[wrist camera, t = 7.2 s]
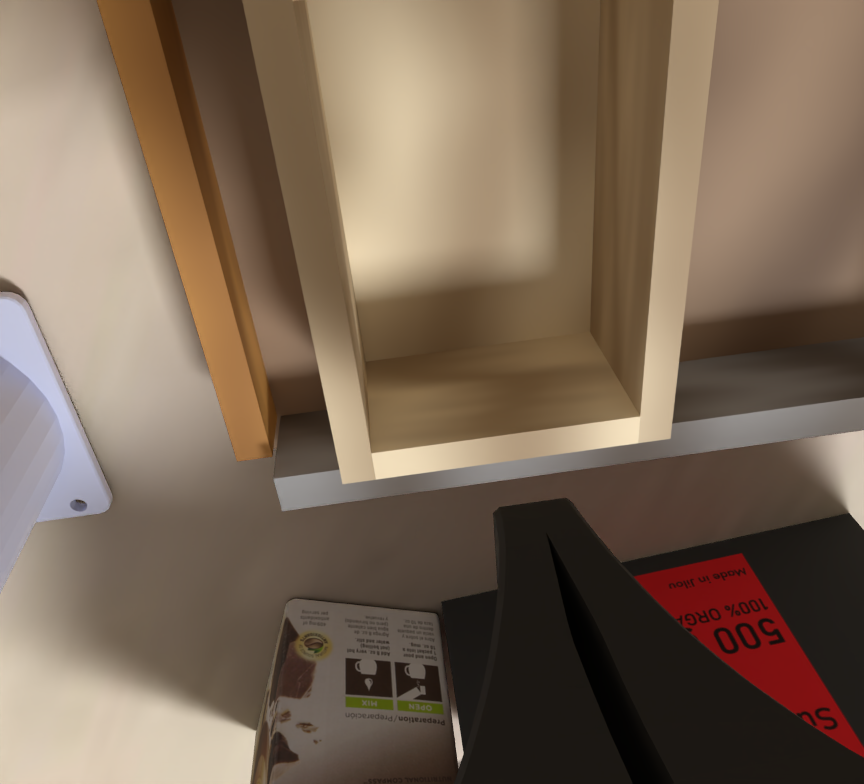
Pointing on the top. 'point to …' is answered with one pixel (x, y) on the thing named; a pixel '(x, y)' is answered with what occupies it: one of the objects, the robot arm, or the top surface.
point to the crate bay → (709, 263)
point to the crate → (488, 216)
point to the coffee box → (355, 699)
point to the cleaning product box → (738, 619)
